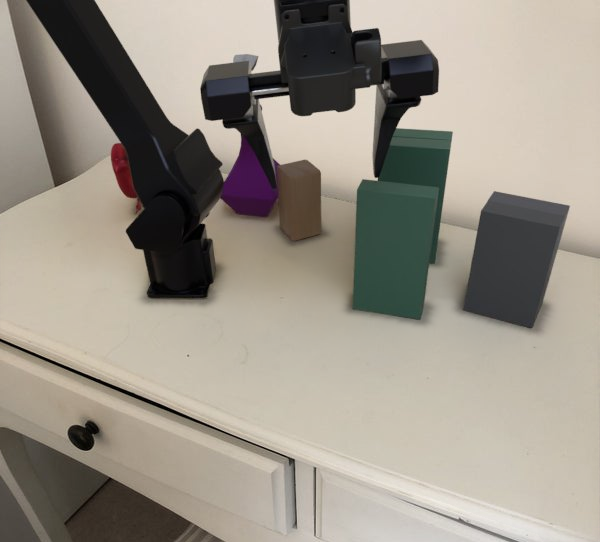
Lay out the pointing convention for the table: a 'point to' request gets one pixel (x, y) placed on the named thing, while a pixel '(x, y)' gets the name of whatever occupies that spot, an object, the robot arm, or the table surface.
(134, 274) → the table surface
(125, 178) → the decorative bird figurine
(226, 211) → the table surface
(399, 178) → the green book
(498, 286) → the charcoal book
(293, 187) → the wooden block
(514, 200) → the charcoal book
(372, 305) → the green book
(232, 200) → the perfume bottle
